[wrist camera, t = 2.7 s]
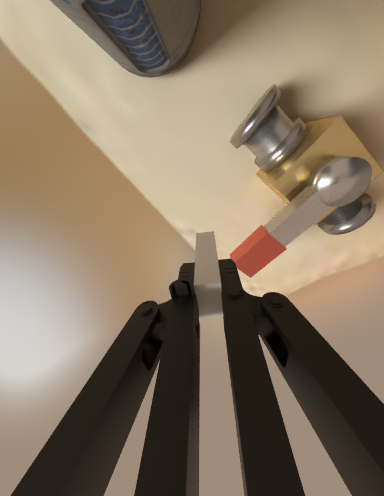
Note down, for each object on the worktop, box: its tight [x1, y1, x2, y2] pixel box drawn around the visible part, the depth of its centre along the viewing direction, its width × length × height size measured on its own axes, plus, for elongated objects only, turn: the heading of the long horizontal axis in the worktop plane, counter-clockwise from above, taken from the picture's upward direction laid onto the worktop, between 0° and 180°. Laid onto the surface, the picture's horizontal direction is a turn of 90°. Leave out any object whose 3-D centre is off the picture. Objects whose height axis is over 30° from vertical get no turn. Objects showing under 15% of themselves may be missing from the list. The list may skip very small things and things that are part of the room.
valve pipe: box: [230, 84, 383, 235], centre depth 20 cm, size 18×7×8 cm, turn 53°
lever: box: [230, 156, 372, 278], centre depth 18 cm, size 14×4×2 cm, turn 143°
